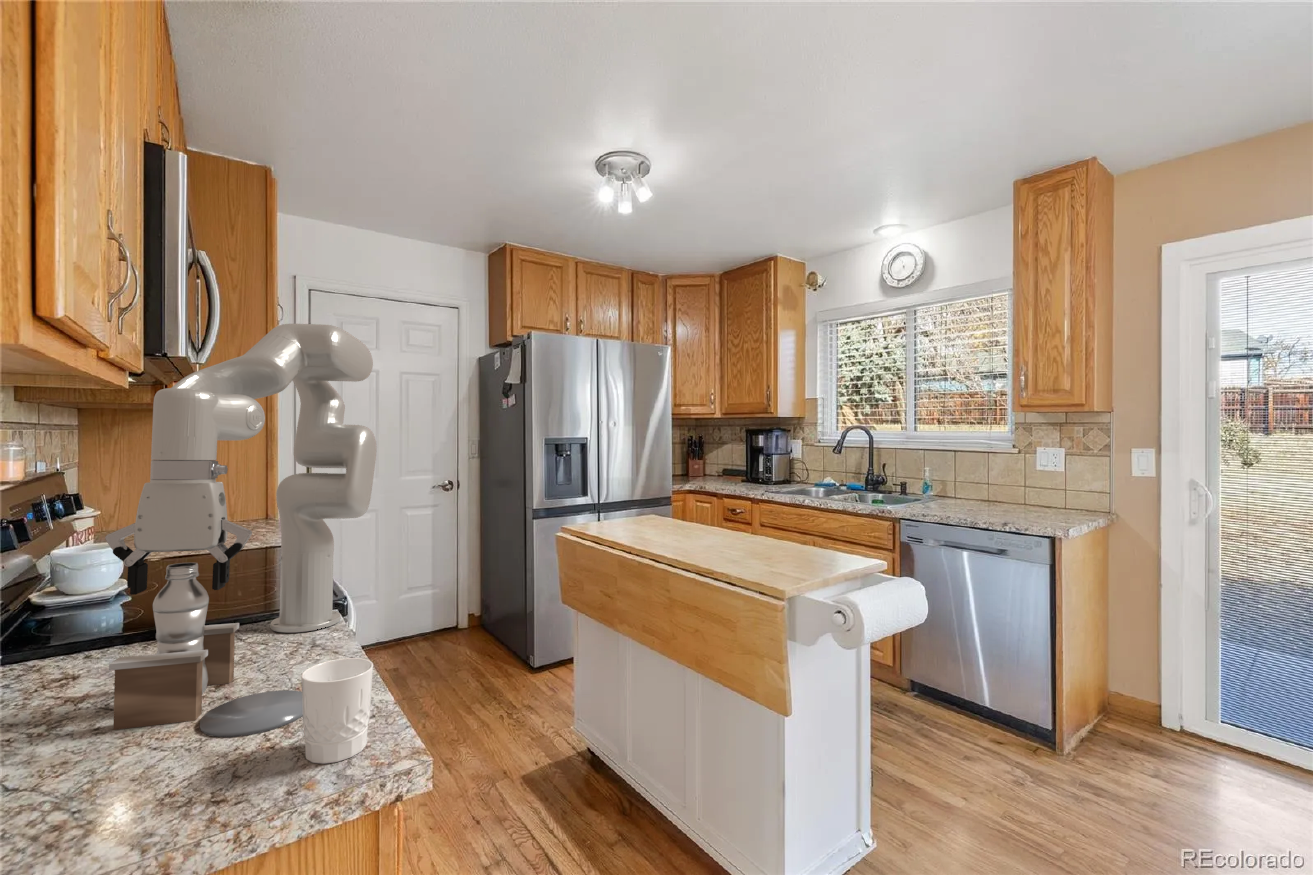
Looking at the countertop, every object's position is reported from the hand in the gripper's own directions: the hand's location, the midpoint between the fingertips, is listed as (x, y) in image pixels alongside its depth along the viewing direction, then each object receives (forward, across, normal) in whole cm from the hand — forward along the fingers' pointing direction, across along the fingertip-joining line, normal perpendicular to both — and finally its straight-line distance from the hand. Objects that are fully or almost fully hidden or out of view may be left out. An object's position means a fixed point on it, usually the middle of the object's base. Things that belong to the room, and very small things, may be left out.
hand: (179, 590), depth 85 cm
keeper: (+16, 0, -1) cm, 16 cm away
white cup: (+17, -24, +21) cm, 36 cm away
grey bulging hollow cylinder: (+17, 0, -1) cm, 17 cm away
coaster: (+16, -12, +7) cm, 22 cm away
